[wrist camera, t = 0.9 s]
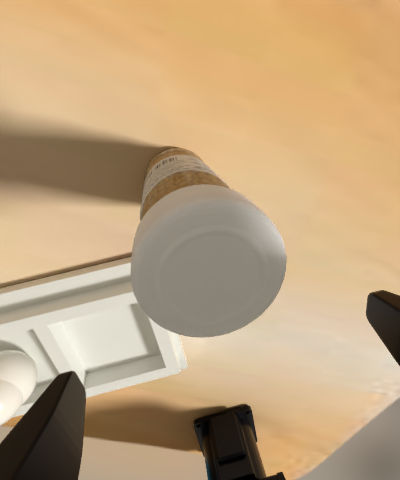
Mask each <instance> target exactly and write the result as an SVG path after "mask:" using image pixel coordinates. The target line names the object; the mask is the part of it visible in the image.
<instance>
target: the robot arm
mask: <svg viewBox="0 0 400 480" xmlns="http://www.w3.org/2000/svg"><path fill="white" fill-rule="evenodd" d="M366 316H367V319H368V321H369V323H370V324H371V326H372V327H373V328H374V330H375V331H376V333H377V334H378V336H379V337H380V339H381V340H382V342H383V343H384V344H385V346H386V347H387V349H388V350H389V352H390V353H391V355H392V356H393V357H394V359H395V360H396V362H397V363H398V364H399V366H400V296H399V295H396V294H393V293H390V292H388V291H384V290H380V291H376V292H372V293H370V294H369V295H368V299H367V308H366ZM85 405H86V391H85V388H84V386H83V384H82V382H81V381H80V379H79V377H78V375H77V374H76V372H75V371H68V372H64V373H61V374H59V375H57V376H56V378H55V379H54V380H53V381H52V382H51V384H50V385H49V386H48V387H47V388H46V390H45V391H44V392H43V393H42V394H41V395H40V397H39V398H38V399H37V400H36V401H35V403H34V404H33V405H32V406H31V407H30V409H29V410H28V411H27V412H26V413H25V415H24V416H23V417H22V418H21V419H20V421H19V422H18V423H17V424H16V425H15V427H14V428H13V429H12V430H11V431H10V433H9V434H8V435H7V436H6V438H5V439H4V440H3V441H2V442H1V444H0V480H78V475H79V470H80V463H81V457H82V447H83V434H84V420H85ZM194 429H195V432H196V435H197V438H198V441H199V444H200V447H201V450H202V453H203V456H204V457H205V463H206V469H207V476H208V480H286V479H285V477H284V475H283V472H279V473H277V474H276V475H273V476H269V477H266V473H265V470H264V467H263V464H262V460H261V457H260V454H259V451H258V448H257V444H256V442H257V437H256V431H255V426H254V420H253V415H252V410H251V407H250V406H244V407H241V408H237V409H233V410H230V411H226V412H222V413H219V414H215V415H212V416H208V417H204V418H201V419H197V420H195V421H194Z"/></svg>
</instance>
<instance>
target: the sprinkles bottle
mask: <svg viewBox="0 0 400 480" xmlns="http://www.w3.org/2000/svg"><path fill="white" fill-rule="evenodd" d="M140 221H141V222H140V224H139V226H138V228H137V231H136V234H135V237H134V242H133V248H132V256H131V273H130V275H131V284H132V289H133V292H134V295H135V297H136V300H137V302H138V303H139V305H140V307H141V308H142V309H143V311H144V312H145V313H146V314H147V315H148V317H149V318H151V319H152V320H153V321H154V322H155V323H157V324H158V325H159V326H161V327H163V328H164V329H166V330H168V331H171V332H173V333H176V334H180V335H184V336H190V337H213V336H219V335H224V334H227V333H230V332H233V331H235V330H238V329H240V328H242V327H244V326H246V325H247V324H249V323H250V322H252V321H253V320H255V319H256V318H258V317H259V316H260V315H261V314H262V313H263V312H264V311H265V310H266V309H267V308H268V307H269V306H270V304H271V303H272V302H273V301H274V299H275V297H276V296H277V294H278V292H279V290H280V288H281V285H282V283H283V280H284V276H285V271H286V253H285V246H284V242H283V240H282V237H281V235H280V233H279V231H278V230H277V228H276V226H275V225H274V223H273V222H272V221H271V220H270V219H269V218H268V217H267V216H266V215H265V214H264V213H263V212H262V211H261V210H260V209H259V208H258V207H257V206H256V205H255V204H254V203H253V202H252V201H250V200H249V199H248V198H246V197H245V196H244V195H242V194H240V193H239V192H237V191H235V190H232V189H230V187H229V186H228V185H227V184H226V183H225V182H224V181H223V180H222V179H221V178H220V177H219V176H218V175H216V174H215V173H214V172H213V171H212V170H211V169H210V168H209V167H208V166H207V165H206V164H205V163H204V162H203V161H202V160H201V159H200V157H198V156H197V155H196V154H195V153H193V152H191V151H188V150H186V149H182V148H171V149H167V150H165V151H163V152H161V153H159V154H158V155H156V156H155V157H154V158H153V159H152V160H151V162H150V163H149V165H148V167H147V169H146V174H145V183H144V189H143V195H142V203H141V211H140Z"/></svg>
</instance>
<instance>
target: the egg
mask: <svg viewBox="0 0 400 480" xmlns="http://www.w3.org/2000/svg"><path fill="white" fill-rule="evenodd" d="M37 378H38V371H37V367H36V364H35V362H34V360H33V359H32V358H31V357H30V356H29V355H27V354H26V353H24V352H21V351H17V350H4V351H0V425H2V424H4V423H5V422H7V421H8V420H9V419H11V418H12V417H13V416H14V415H15V413H16V412H17V411H18V409H19V408H20V406H21V405H22V404H24V403H25V402H26V400H27V399H28V398H29V397H30V395H31V394H32V392H33V391H34V389H35V386H36V383H37Z"/></svg>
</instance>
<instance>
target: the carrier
mask: <svg viewBox="0 0 400 480" xmlns="http://www.w3.org/2000/svg"><path fill="white" fill-rule="evenodd" d="M130 273H131V257H128V258H123V259H119V260H115V261H111V262H107V263H103V264H99V265H94V266H90V267H86V268H82V269H78V270H74V271H70V272H66V273H61V274H57V275H53V276H49V277H45V278H41V279H37V280H32V281H28V282H24V283H20V284H16V285H12V286H8V287H3V288H0V351H4V350H17V351H21V352H24V353H26V354H27V355H29V356H30V357H31V358H32V359H33V360H34V362H35V364H36V367H37V371H38V378H37V383H36V386H35V389H34V391H33V392H32V394H31V395H30V397H29V398H28V399H27V400H26V402H25V403H24V404H22V405H21V406H20V408H19V409H18V411H17V412H16V413H15V415H14V416H13V417H16V416H20V415H24V414H25V413H26V412H27V411H28V410H29V409H30V407H31V406H32V405H33V404H34V403H35V401H36V400H37V399H38V398H39V397H40V395H41V394H42V393H43V392H44V391H45V390H46V388H47V387H48V386H49V385H50V384H51V382H52V381H53V380H54V379H55V378H56V376H57V375H59V374H61V373H64V372H68V371H75V372H76V374H77V375H78V377H79V379H80V381H81V382H82V384H83V386H84V388H85V391H86V398H87V397H91V396H95V395H99V394H102V393H106V392H110V391H114V390H117V389H121V388H125V387H129V386H132V385H136V384H140V383H144V382H147V381H151V380H155V379H159V378H162V377H166V376H170V375H174V374H177V373H180V370H182V369H186V368H188V366H187V359H186V356H185V352H184V349H183V346H182V342H181V339H180V336H179V334H176V333H173V332H171V331H168V330H166V329H164V328H163V327H161V326H159V325H158V324H157V323H155V322H154V321H153V320H152V319H151V318H149V317H148V315H147V314H146V313H145V312H144V311H143V309H142V308H141V307H140V305H139V303H138V302H137V300H136V297H135V295H134V292H133V289H132V284H131V275H130Z"/></svg>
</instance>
